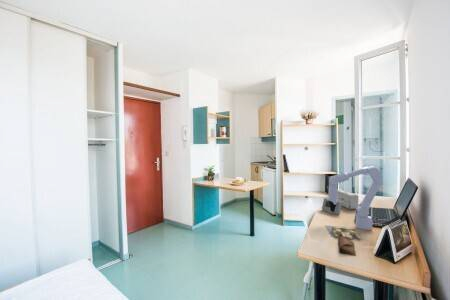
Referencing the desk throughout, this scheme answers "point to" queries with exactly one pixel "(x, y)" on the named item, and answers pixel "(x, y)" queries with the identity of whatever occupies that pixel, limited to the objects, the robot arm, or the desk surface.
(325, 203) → the digital clock
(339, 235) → the keyhole board
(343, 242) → the sunglasses case
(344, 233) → the panel
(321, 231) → the desk surface
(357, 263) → the desk surface
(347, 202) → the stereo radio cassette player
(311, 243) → the desk surface
